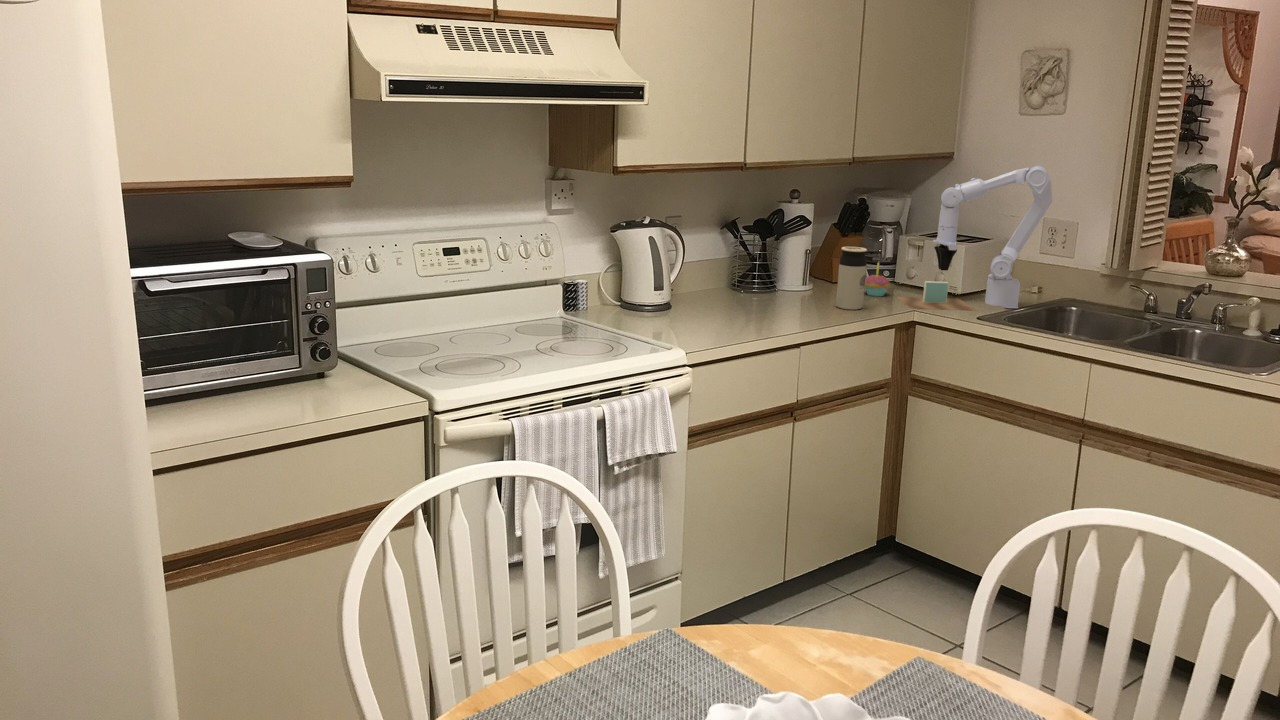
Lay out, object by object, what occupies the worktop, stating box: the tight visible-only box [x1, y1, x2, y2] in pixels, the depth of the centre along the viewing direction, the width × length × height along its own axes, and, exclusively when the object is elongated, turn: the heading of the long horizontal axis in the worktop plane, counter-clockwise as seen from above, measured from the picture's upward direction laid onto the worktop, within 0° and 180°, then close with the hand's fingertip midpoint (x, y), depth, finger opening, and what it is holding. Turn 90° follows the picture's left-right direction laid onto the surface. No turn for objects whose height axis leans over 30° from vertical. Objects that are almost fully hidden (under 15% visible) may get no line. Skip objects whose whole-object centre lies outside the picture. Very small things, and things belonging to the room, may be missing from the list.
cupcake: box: [864, 260, 891, 297], centre depth 323 cm, size 9×8×12 cm
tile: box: [922, 280, 949, 303], centre depth 313 cm, size 7×2×6 cm, turn 90°
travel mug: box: [835, 246, 868, 311], centre depth 305 cm, size 8×8×18 cm
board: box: [896, 296, 978, 312], centre depth 313 cm, size 20×18×1 cm
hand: (943, 269), depth 319 cm, fingers closed
